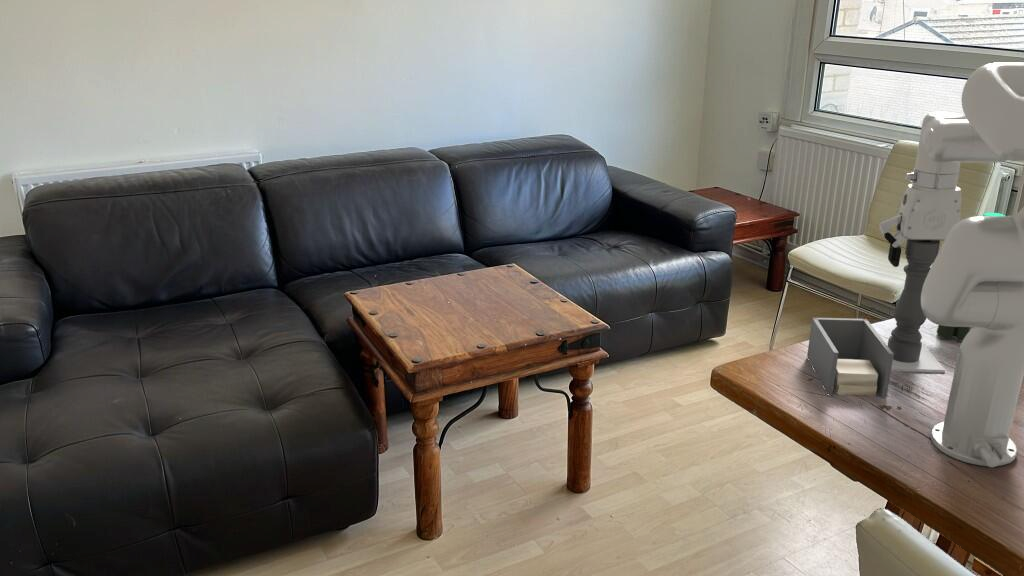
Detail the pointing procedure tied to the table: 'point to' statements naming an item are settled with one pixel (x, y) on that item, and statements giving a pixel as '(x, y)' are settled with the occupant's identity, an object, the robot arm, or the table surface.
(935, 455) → the table surface
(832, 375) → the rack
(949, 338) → the character mug
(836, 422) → the table surface
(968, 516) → the table surface
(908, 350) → the candle holder
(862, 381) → the upper offcut
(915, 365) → the mat
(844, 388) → the block
